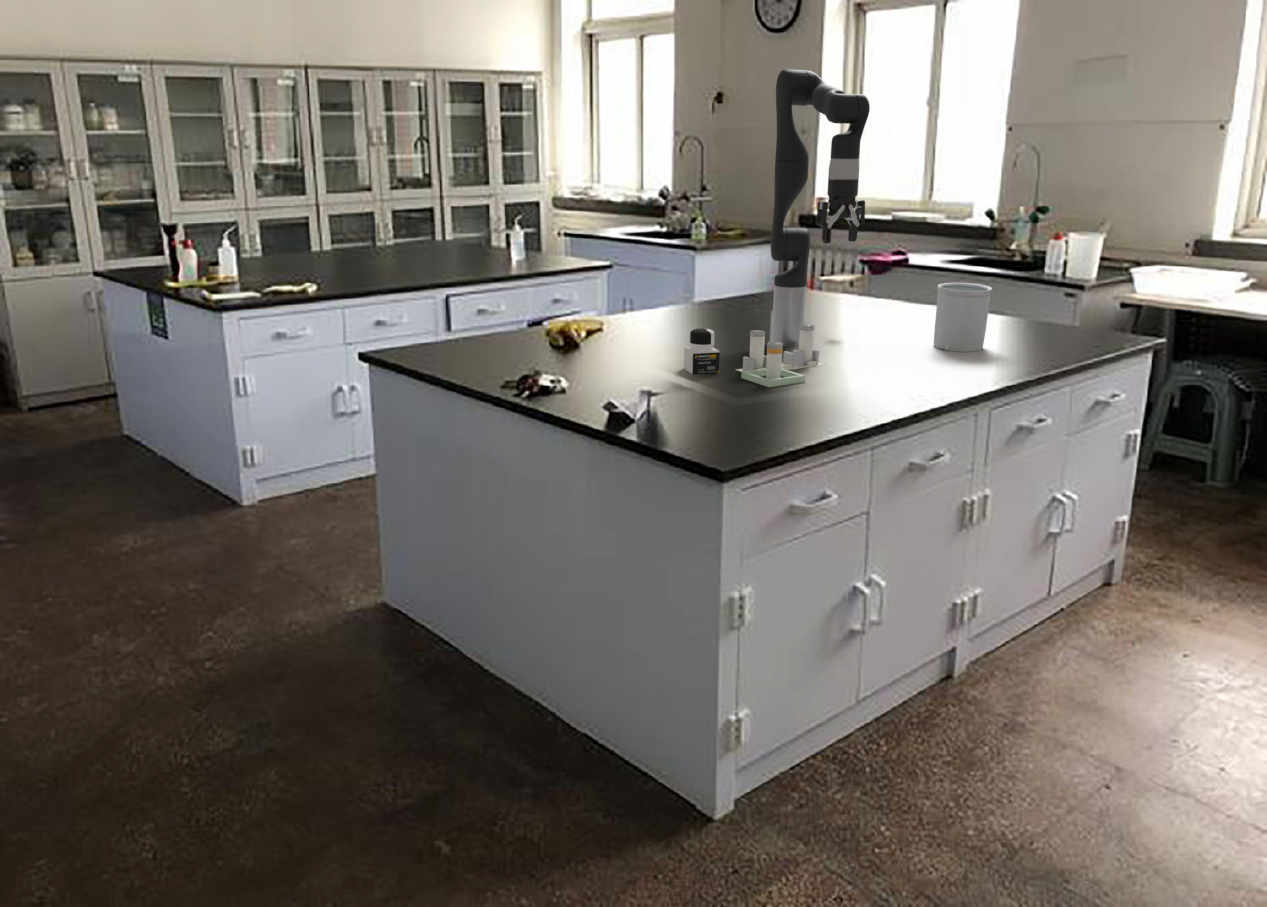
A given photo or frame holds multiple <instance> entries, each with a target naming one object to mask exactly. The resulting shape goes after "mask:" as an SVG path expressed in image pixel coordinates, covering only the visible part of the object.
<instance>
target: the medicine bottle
mask: <svg viewBox="0 0 1267 907" xmlns="http://www.w3.org/2000/svg"><path fill="white" fill-rule="evenodd" d="M689 334H690V335H689V345H688V346H685V347H684V351H683V352H684V353H683V357H684V358H683V359H684V360H683V366H684V367H683V369H684V370H685V371H687V372H688V373H690V374H691V375H703V374H704V375H705V374H706V375H707V374H708V375H709V374H720V354H721V353H720V350H719V349H716V348H715V347H714V346H715V332H714V330H712V329H710V328H701V327H700V328H694V329H692V330H691V331H690V333H689Z"/></svg>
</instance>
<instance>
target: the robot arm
mask: <svg viewBox="0 0 1267 907" xmlns="http://www.w3.org/2000/svg"><path fill="white" fill-rule="evenodd" d="M811 105H812V106H813V108H814V109H815V110H816V111H817V112H818V113H820V114H822V115H824V116H825V117H826V119H827V121H829V123H832V124H837V125H839V124H841V125H842V124H849V126H848V128H847V130H846V131H844V132H841V133H837V134H835V135H833V136H832V139H831V144H830V146H831V147H830V160H829V161H830V162H829V166H828V175H827V176H828V178H827V179H828V180H827V194H826V195H827V196H828V201H818V203H817V211H816V220H815V221H816V222H815V224H816V226H819V227H821V229H822V231H821V232H822V234H821V240H822V243H823V244H828V245H829V244H831V242H832V226H833V225H834V223H835V222H836V221H837V220H838V219H839V220H841V219H844V220H846V221H847V223H848V224H849V226H848V234H847V235H848V237H847V240H848V241H849V242H852V243H853V242H856V241H857V239H858V228H859V226H860V225H863V224H865V221H866V220H865V218H866V216H865V215H866V201H865V200H864V199H862V200H861V199H856V197H857V196H858V194H859V193H858V192H859V190H858V189H859V179H860V178H859V177H860V160H859V159H860V144H861V140H862V137H863V133H864V130H865V126H866V123H867V121H868V117H869V114H870V101H869V99H868V98H867V96H866V95H864V94H862V93H846V92H845V91H843V90H842V89H840V88H838V87H835V86H832V85H829V84H828V83H827V82H826V81H824V80H823V78H822V77H820V75H818V74H817V73H815V72H814V71H811V70H807V69H804V70H803V69H793V68H792V69H791V68H790V69H788V68H787V69H786V68H785V69H782V70H781V71H780V72H779V73H778V76H777V79H776V85H775V110H776V111H775V113H776V142H775V159H774V201H773V202H774V203H773V214H772V216H773V217H772V225H771V226H772V227H771V236H770V238H771V239H770V256H771V258H772V260H773V261H775V262H796V264H795V265H794V266H793V267H791V268H789V269H788V270H786V271H782V272H779V273H777V274H775V276H774V278H773V279H774V283H773V284H774V286H773V303H772V304H773V305H772V306H773V307H772V309H771V311H770V324H769V325H770V326H769V327H770V328H769V342H772V341H776V342H782V343H783V347H784V348H785V347H792V346H793V347H794V346H799V340H800V325H803V324H806V307H807V306H806V305H807V304H806V303H807V286H808V267H809V258H810V256H809V255H810V251H811V250H810V249H811V248H810V247H811V234H810V231H809V229H807V228H805V227H784V223H785V220H786V217H787V215H788V212H789V211H790V209H791V207H792V205H793V204H794V202H795V201H796V199H797V198H798V196H799V195H800V194H801V192H802V190H803V189H804V187H805V186H806V184H807V181H808V178H809V162H810V160H809V152H808V149H807V147H806V145H805V143H804V140H803V139H802V137H801V136H800V134H799V132H798V129H797V128H796V125H795V122H794V116H793V115H794V114H793V106H799V107H800V106H801V107H804V106H811ZM783 347H782V348H783Z"/></svg>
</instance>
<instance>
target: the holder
mask: <svg viewBox="0 0 1267 907" xmlns="http://www.w3.org/2000/svg"><path fill="white" fill-rule="evenodd" d="M819 358H820V350H819V349H814V348H813V359H812V360H813V361H810V362H807V365H803V364H804V352H801V351H799V350H797V349H794V350H792V352H791V351H786V350H785V351H783V355H782V359H783V360H782V361H783V362H782V363H781V368H782V369H785V370H789V371H791V370H792V371H793V370H798V369H805V368H811V367H813V368H814V367H819V366H826V365H827V364H825V363H821V362H819ZM766 365H767V355H765V354H764V366H763V367H764V368H760V369H765V368H766ZM751 370H754V359H752V358H750V356H749V357H748V356H743V357H742V368H738V369H736V368H735V371H738V372H744V371H751Z"/></svg>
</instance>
